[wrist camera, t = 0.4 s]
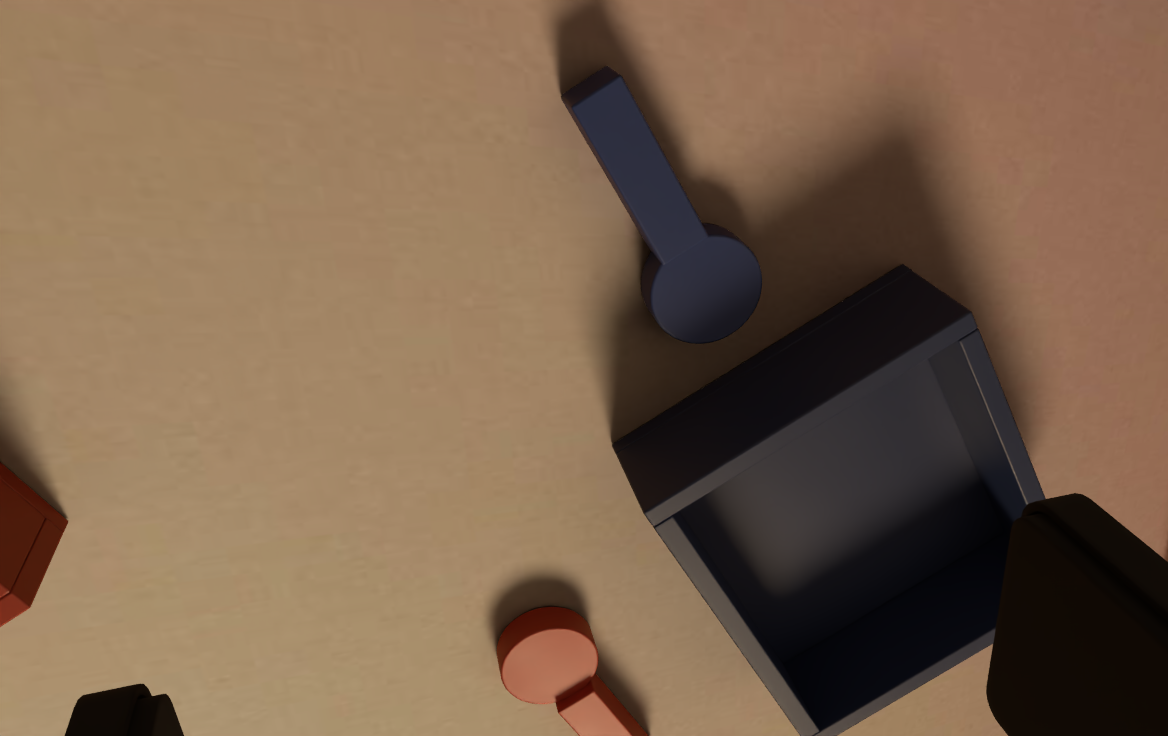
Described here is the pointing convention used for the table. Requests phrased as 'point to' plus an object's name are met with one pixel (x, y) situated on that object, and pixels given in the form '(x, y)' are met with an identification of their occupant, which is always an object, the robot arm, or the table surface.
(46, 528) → the brick-red bin
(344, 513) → the table surface
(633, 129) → the navy spoon
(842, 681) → the navy bin
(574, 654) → the brick-red spoon
